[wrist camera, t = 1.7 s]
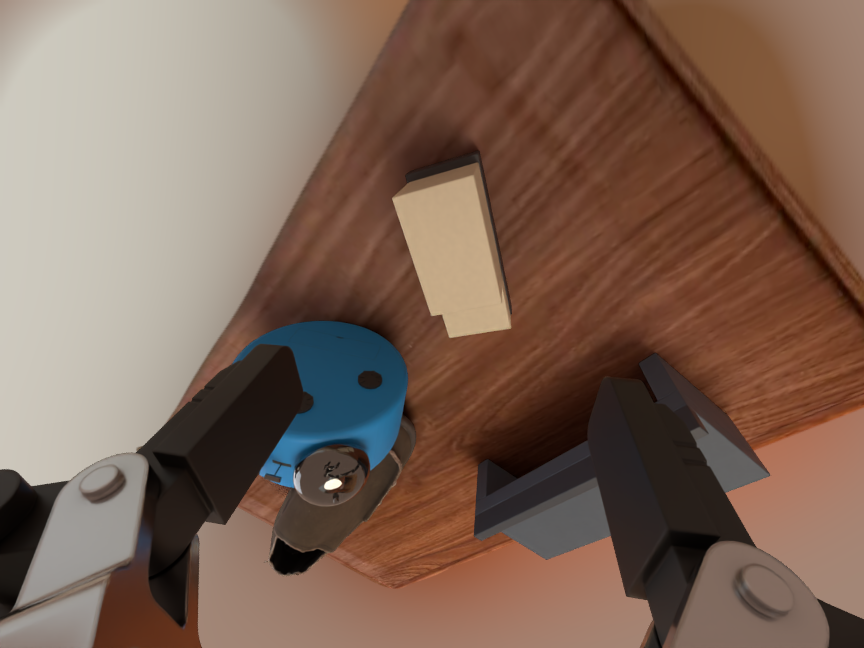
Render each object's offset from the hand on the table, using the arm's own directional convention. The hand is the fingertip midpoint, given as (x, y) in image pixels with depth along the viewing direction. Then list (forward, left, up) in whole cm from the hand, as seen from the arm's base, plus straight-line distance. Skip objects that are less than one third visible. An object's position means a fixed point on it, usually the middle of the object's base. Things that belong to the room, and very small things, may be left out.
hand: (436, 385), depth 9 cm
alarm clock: (+16, +7, -20) cm, 26 cm away
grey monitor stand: (-1, +26, -19) cm, 33 cm away
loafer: (+26, +22, -20) cm, 40 cm away
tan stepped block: (+2, +2, -19) cm, 20 cm away
